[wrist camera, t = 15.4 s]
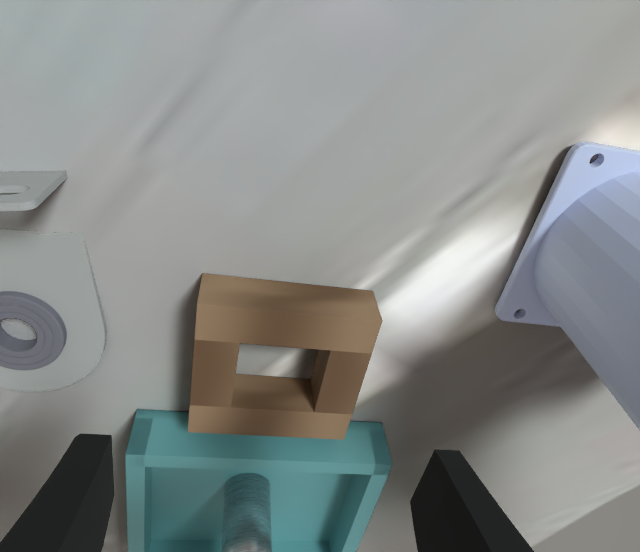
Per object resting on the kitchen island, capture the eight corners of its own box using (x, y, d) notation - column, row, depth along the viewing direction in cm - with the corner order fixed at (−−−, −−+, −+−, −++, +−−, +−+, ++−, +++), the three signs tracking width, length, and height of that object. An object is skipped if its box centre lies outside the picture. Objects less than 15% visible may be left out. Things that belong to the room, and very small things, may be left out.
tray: (382, 422, 26) (392, 464, 24) (337, 541, 32) (343, 582, 30) (137, 409, 24) (125, 454, 22) (137, 538, 30) (128, 583, 28)
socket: (373, 291, 21) (382, 321, 20) (338, 406, 25) (343, 439, 23) (202, 273, 20) (197, 303, 18) (193, 397, 24) (187, 432, 22)
